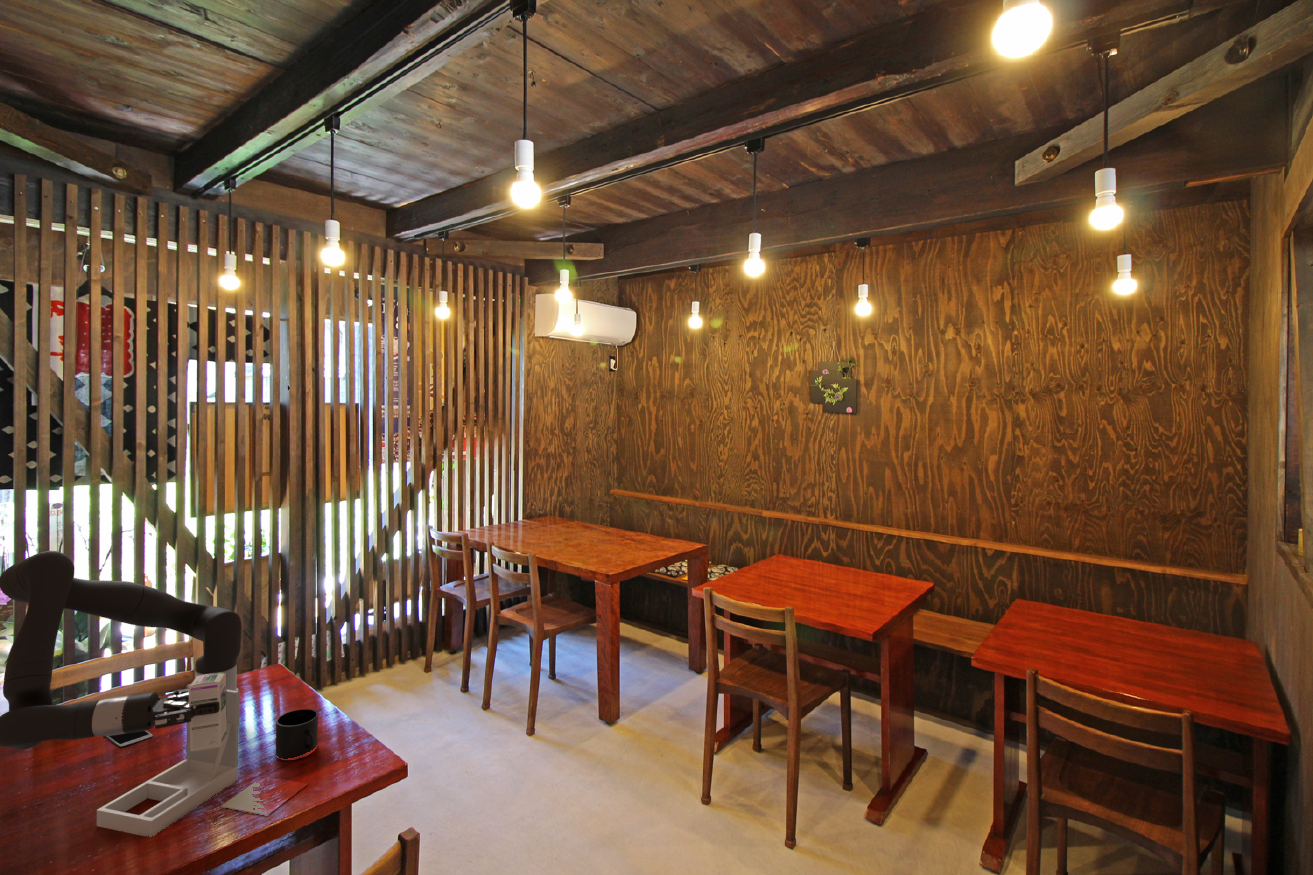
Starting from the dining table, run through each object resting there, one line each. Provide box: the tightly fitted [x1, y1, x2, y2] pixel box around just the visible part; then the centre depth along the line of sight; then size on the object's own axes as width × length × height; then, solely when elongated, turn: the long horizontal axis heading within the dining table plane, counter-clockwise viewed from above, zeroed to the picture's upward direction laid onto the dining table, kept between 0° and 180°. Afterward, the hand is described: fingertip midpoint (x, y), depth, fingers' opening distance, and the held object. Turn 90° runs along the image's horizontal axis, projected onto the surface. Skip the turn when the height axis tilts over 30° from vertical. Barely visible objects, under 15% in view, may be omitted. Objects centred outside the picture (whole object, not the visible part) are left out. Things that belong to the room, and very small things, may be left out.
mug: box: [275, 708, 319, 759], centre depth 161 cm, size 9×12×9 cm
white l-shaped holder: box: [96, 683, 240, 838], centre depth 140 cm, size 21×14×22 cm
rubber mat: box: [220, 781, 268, 815], centre depth 144 cm, size 12×12×1 cm
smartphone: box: [103, 730, 154, 749], centre depth 167 cm, size 7×15×1 cm, turn 59°
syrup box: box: [188, 672, 227, 751], centre depth 137 cm, size 6×6×14 cm
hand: (222, 700), depth 138 cm, fingers closed on syrup box, 5 cm apart
